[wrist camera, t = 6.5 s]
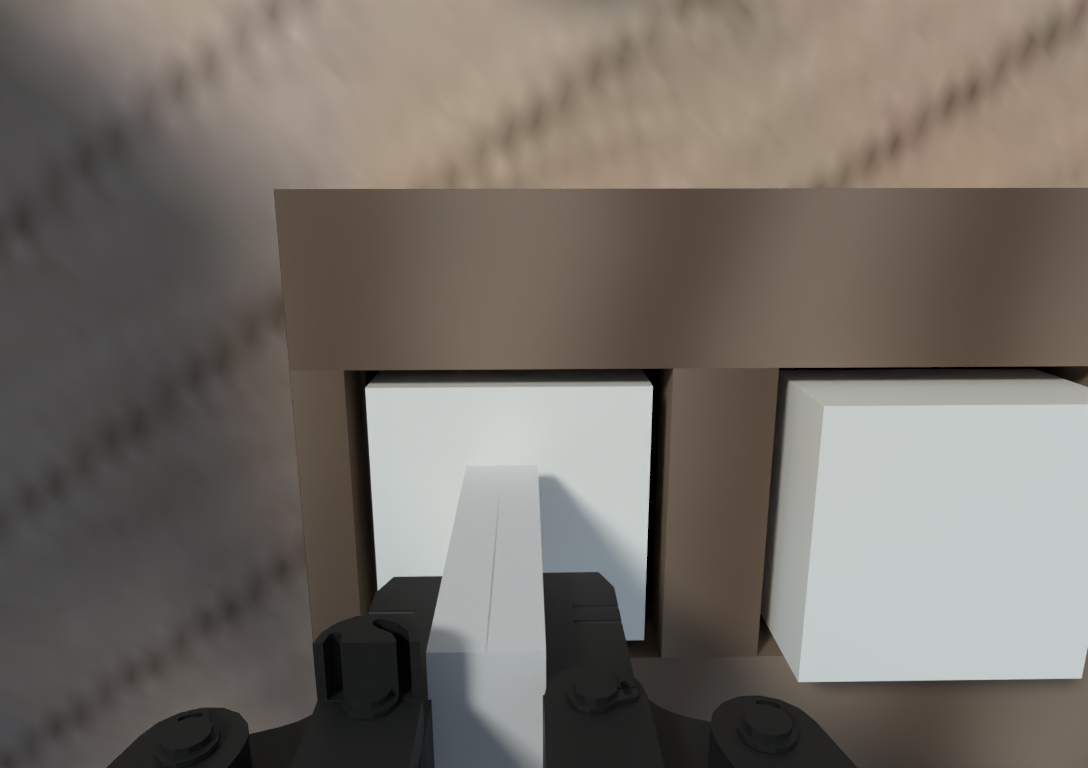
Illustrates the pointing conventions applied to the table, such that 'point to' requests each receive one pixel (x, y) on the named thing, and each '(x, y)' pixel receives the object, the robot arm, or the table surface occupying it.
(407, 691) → the robot arm
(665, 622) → the button box
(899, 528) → the middle button
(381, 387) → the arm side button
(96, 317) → the table surface
